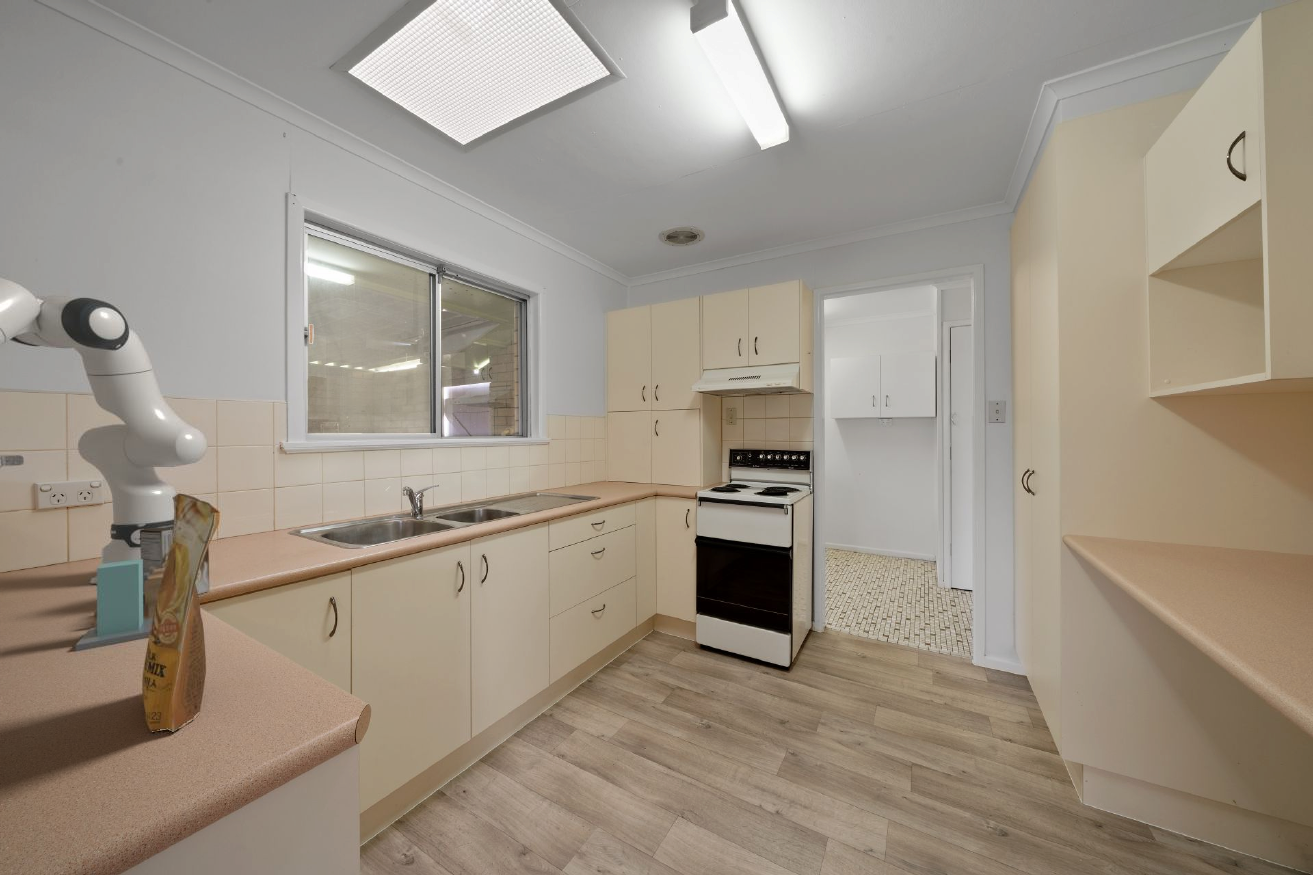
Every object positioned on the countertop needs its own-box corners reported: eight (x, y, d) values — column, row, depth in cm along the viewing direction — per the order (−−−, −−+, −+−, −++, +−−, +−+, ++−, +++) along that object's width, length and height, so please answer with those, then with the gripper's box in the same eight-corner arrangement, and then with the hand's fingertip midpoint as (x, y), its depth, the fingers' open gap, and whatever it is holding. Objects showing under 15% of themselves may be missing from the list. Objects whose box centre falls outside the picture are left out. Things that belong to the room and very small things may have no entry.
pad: (90, 633, 87) (90, 628, 87) (160, 621, 93) (160, 616, 93) (75, 650, 80) (75, 644, 80) (152, 636, 86) (152, 630, 86)
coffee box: (189, 589, 112) (188, 521, 112) (210, 591, 111) (210, 522, 110) (139, 603, 103) (139, 529, 103) (162, 605, 102) (161, 530, 101)
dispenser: (106, 614, 96) (106, 571, 96) (186, 601, 104) (185, 561, 104) (94, 628, 89) (94, 581, 89) (180, 613, 97) (180, 570, 97)
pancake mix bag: (205, 672, 73) (203, 490, 73) (223, 722, 60) (221, 502, 60) (140, 690, 68) (139, 494, 68) (145, 748, 55) (143, 508, 55)
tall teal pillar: (103, 629, 87) (102, 563, 86) (143, 622, 90) (142, 559, 90) (97, 636, 83) (96, 568, 83) (139, 629, 87) (138, 563, 87)
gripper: (-184, 445, 65) (-15, 444, 74) (-98, 443, 81) (33, 442, 89) (-183, 491, 65) (-14, 484, 74) (-97, 480, 81) (34, 475, 90)
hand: (12, 461), depth 82 cm, fingers open, 8 cm apart
